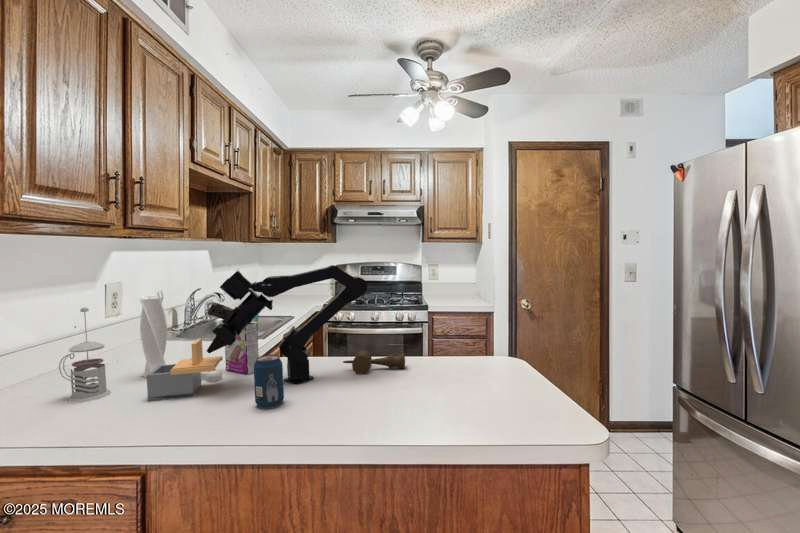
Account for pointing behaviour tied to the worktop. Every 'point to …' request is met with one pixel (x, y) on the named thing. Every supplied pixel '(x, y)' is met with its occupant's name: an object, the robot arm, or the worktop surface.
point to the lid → (196, 361)
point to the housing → (171, 383)
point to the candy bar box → (243, 351)
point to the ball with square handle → (212, 375)
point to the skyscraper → (153, 331)
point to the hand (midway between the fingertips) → (208, 352)
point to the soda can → (268, 381)
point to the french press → (87, 372)
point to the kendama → (374, 362)
